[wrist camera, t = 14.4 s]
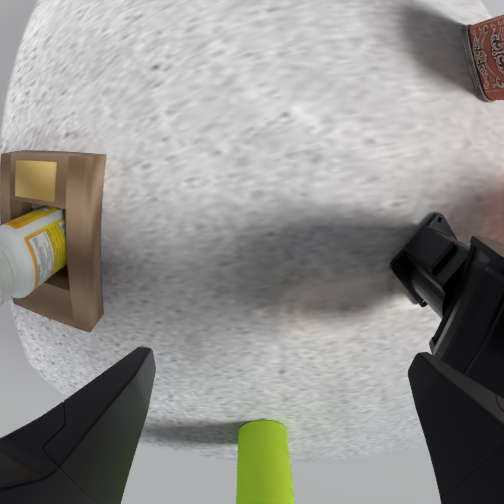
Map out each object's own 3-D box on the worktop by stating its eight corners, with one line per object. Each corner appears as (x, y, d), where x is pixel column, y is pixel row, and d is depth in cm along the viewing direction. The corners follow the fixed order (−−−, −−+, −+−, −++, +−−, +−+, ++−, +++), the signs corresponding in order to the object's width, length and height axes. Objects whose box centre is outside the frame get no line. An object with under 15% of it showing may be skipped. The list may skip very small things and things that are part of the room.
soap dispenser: (289, 413, 28) (307, 576, 9) (284, 442, 30) (296, 576, 12) (236, 415, 28) (232, 579, 9) (239, 443, 30) (236, 578, 12)
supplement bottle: (91, 230, 20) (15, 283, 11) (67, 273, 21) (4, 332, 12) (51, 189, 19) (-32, 222, 10) (31, 235, 20) (-39, 279, 11)
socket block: (23, 150, 17) (-2, 154, 14) (106, 154, 18) (83, 157, 15) (30, 289, 22) (12, 304, 19) (103, 313, 23) (88, 334, 20)
